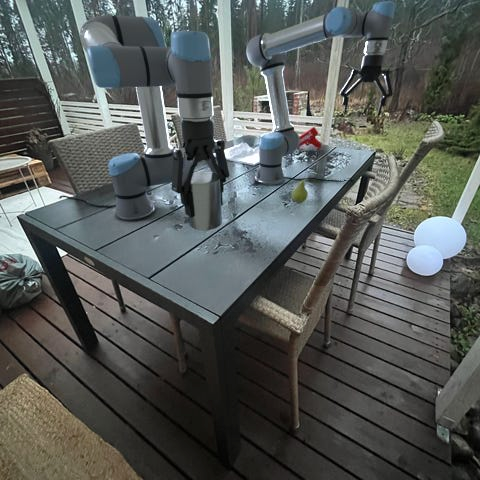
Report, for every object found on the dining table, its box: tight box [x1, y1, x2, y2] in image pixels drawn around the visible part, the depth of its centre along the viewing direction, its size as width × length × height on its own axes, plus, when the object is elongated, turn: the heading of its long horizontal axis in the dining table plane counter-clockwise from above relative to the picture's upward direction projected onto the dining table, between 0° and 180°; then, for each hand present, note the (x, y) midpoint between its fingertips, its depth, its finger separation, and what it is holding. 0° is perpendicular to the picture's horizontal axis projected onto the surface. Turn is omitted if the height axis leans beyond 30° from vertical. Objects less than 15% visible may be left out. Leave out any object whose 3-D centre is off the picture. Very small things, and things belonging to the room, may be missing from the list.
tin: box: [187, 171, 223, 231], centre depth 71 cm, size 9×9×13 cm
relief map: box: [213, 141, 260, 166], centre depth 182 cm, size 27×35×5 cm
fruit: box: [291, 174, 311, 204], centre depth 118 cm, size 7×8×12 cm
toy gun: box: [298, 126, 323, 149], centre depth 197 cm, size 18×4×15 cm
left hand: (204, 209), depth 73 cm, fingers closed on tin, 9 cm apart
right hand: (361, 114), depth 116 cm, fingers open, 13 cm apart
